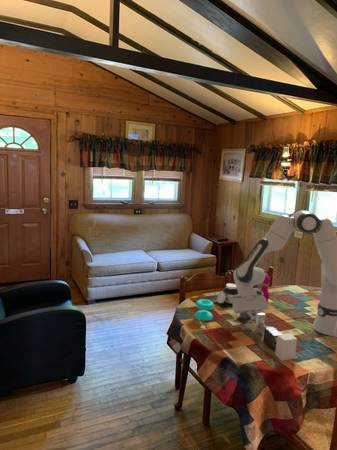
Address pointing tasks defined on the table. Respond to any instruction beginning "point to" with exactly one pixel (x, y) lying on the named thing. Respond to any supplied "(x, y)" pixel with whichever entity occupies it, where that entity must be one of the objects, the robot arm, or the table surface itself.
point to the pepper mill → (265, 287)
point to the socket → (286, 346)
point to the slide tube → (261, 324)
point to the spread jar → (228, 294)
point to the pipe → (245, 315)
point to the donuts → (202, 313)
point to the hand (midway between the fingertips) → (254, 319)
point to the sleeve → (270, 337)
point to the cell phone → (204, 327)
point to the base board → (259, 340)
